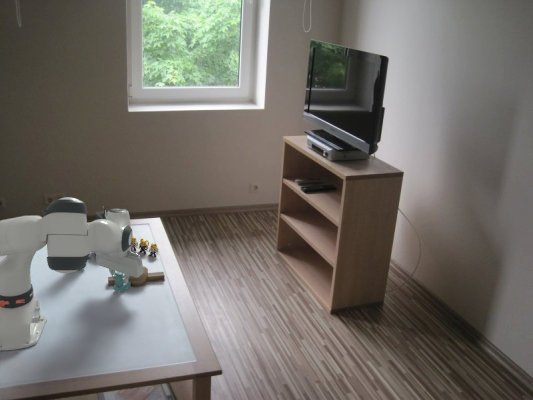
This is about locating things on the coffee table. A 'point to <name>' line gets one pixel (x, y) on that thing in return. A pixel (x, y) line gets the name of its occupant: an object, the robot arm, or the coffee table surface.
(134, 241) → the figurine set
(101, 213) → the black-topped pedestal
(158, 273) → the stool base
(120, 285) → the teal crank handle
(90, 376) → the coffee table surface
